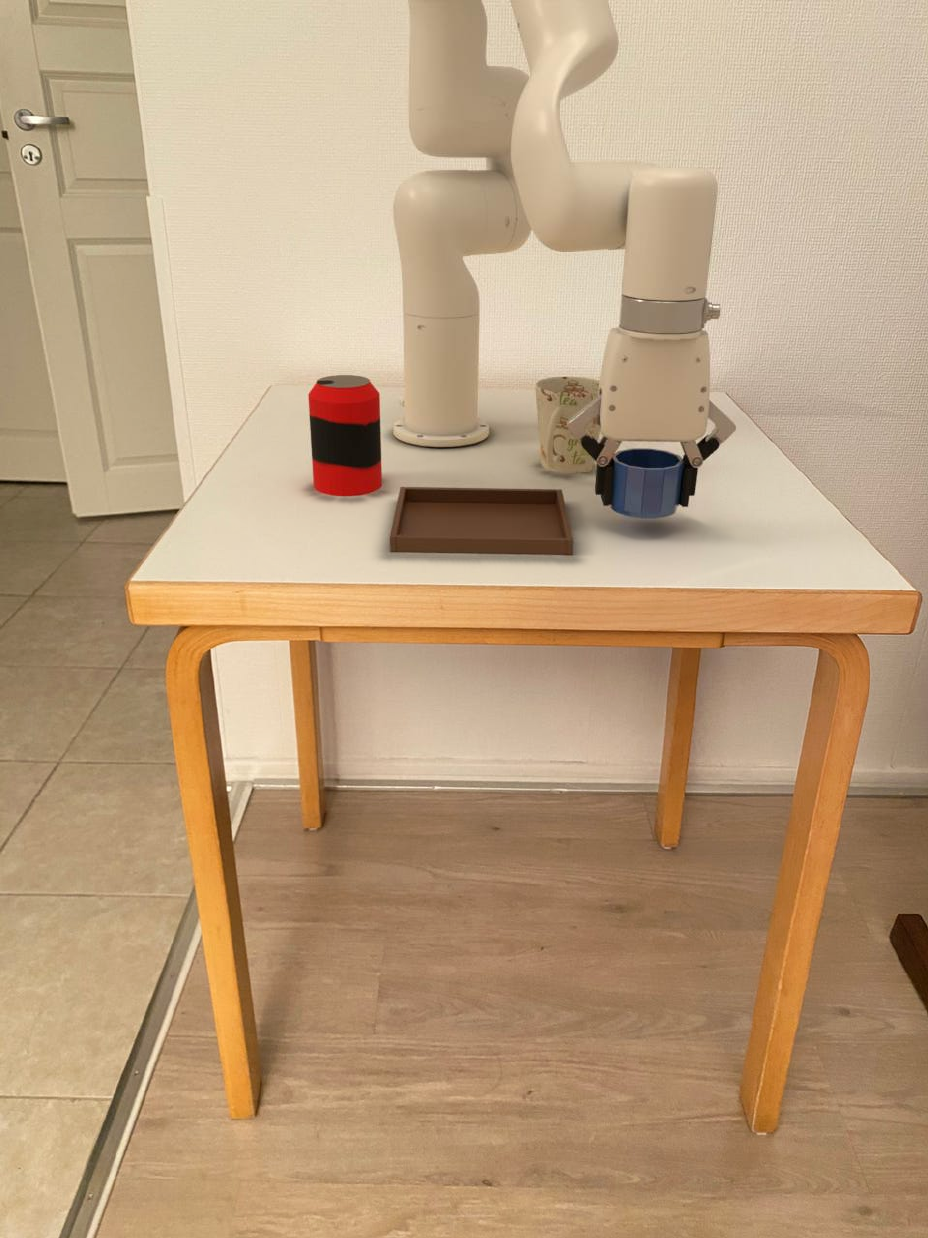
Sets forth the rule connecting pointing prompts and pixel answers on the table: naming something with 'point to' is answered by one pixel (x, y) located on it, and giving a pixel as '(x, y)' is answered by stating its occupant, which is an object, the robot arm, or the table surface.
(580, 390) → the mug
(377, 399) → the soda can
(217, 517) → the table surface
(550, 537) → the tray
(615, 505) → the bowl
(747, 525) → the table surface
